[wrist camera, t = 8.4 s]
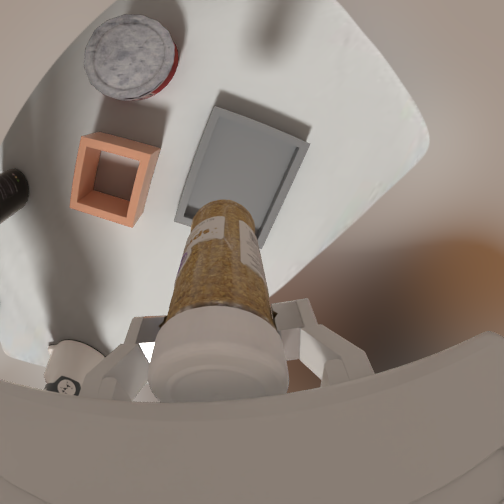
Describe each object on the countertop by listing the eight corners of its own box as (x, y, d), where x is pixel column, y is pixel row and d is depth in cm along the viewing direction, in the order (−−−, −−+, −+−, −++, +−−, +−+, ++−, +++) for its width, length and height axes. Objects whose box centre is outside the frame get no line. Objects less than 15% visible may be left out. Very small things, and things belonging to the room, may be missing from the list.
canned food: (158, 36, 27) (179, -4, 19) (178, 94, 31) (205, 65, 23) (79, 60, 23) (75, 21, 14) (96, 123, 27) (94, 98, 18)
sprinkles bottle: (192, 195, 18) (132, 341, 6) (259, 200, 19) (307, 350, 7) (191, 255, 20) (156, 422, 8) (252, 259, 21) (277, 427, 9)
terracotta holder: (143, 212, 35) (132, 227, 30) (86, 194, 32) (69, 207, 28) (161, 148, 31) (150, 154, 27) (99, 131, 29) (81, 136, 24)
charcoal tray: (259, 242, 39) (261, 249, 37) (176, 215, 36) (173, 221, 34) (305, 141, 32) (310, 143, 31) (215, 106, 29) (214, 105, 27)
